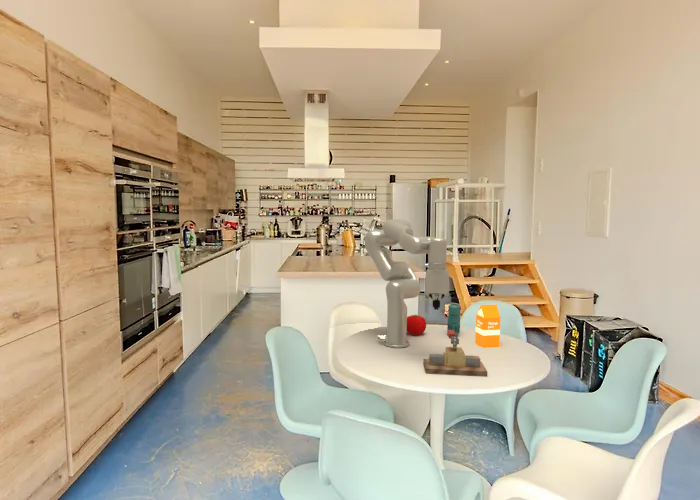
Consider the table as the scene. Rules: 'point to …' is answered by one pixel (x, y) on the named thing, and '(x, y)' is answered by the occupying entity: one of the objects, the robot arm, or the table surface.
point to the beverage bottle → (454, 316)
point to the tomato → (416, 324)
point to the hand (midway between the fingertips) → (436, 309)
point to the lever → (452, 337)
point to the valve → (454, 358)
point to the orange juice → (487, 326)
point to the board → (454, 370)
